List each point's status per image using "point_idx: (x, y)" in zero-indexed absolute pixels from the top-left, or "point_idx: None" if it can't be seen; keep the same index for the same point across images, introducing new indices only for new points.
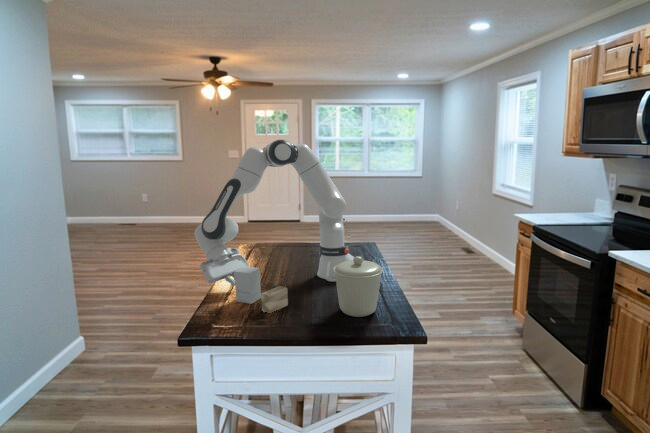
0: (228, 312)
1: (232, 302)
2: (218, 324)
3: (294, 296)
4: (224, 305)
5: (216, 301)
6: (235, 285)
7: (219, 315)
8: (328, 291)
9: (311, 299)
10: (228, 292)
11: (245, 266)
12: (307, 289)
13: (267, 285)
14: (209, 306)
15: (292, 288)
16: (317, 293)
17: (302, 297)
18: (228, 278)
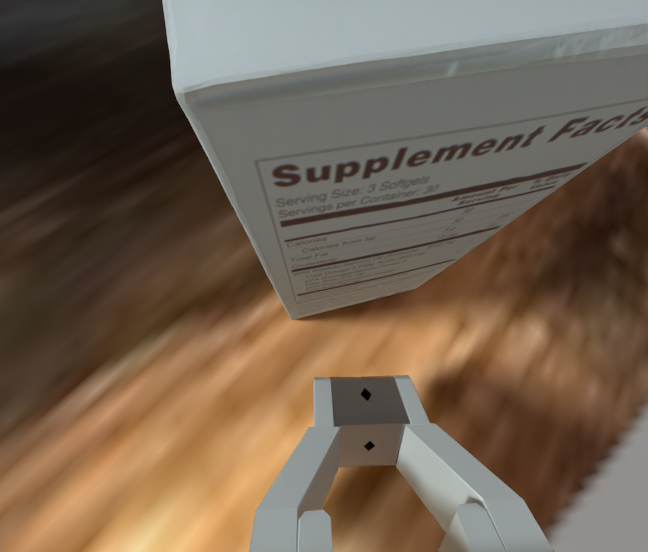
0: (539, 203)
1: (444, 299)
2: (638, 141)
3: (146, 85)
4: (512, 302)
5: (526, 419)
6: (491, 235)
7: (598, 211)
8: (3, 9)
9: (144, 15)
10: (340, 523)
11: (195, 54)
12: (8, 89)
13: (20, 349)
14: (607, 377)
15: (21, 161)
16: (52, 30)
17: (140, 52)
18: (503, 490)
